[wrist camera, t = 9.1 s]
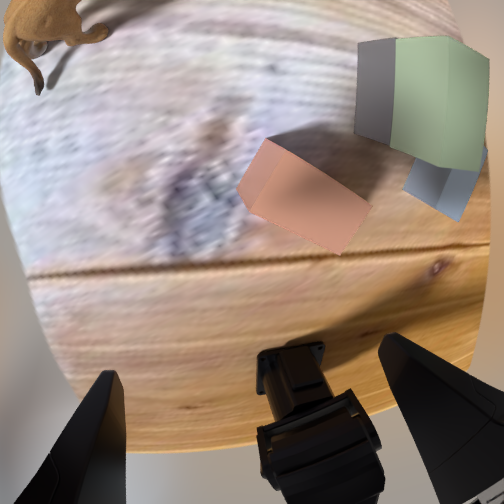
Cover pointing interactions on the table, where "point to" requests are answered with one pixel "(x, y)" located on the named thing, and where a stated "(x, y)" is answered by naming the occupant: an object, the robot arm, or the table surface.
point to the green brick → (440, 102)
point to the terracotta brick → (301, 198)
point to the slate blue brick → (442, 186)
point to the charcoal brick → (375, 89)
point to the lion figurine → (44, 31)
